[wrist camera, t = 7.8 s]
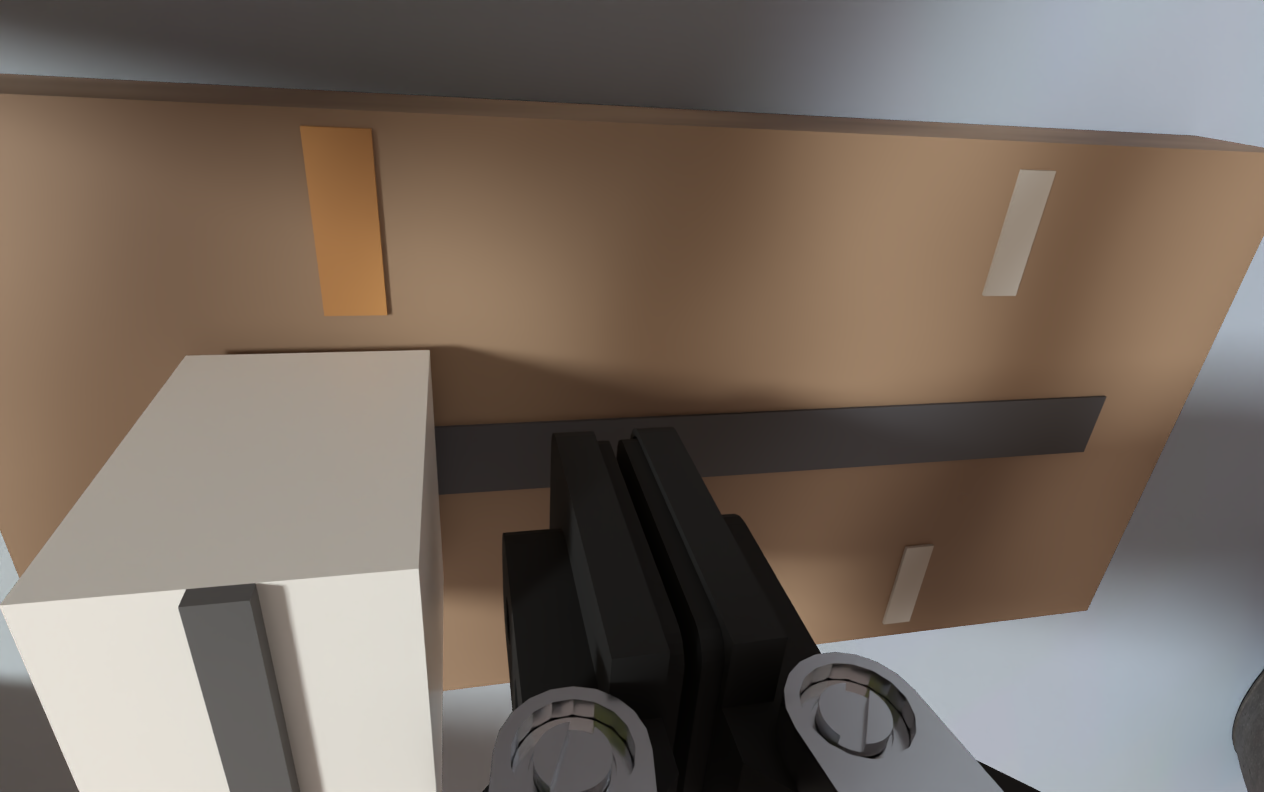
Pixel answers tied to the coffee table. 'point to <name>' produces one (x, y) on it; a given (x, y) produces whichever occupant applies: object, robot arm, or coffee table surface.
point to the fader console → (644, 316)
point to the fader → (251, 586)
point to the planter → (1251, 736)
